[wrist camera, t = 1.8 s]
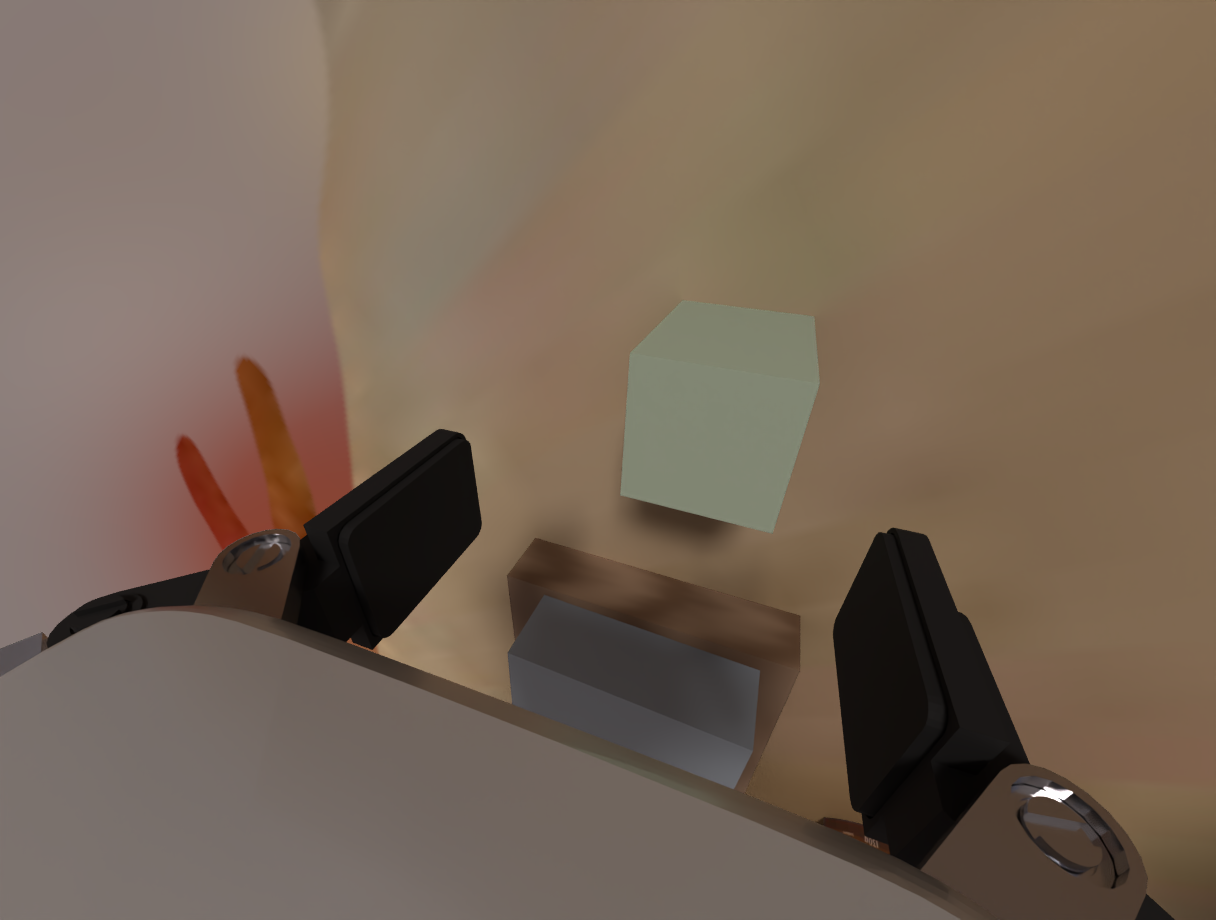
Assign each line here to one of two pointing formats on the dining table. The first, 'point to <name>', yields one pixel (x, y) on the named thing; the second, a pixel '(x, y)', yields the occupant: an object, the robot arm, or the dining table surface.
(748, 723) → the top block
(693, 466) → the sage block
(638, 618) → the base block
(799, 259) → the dining table surface
